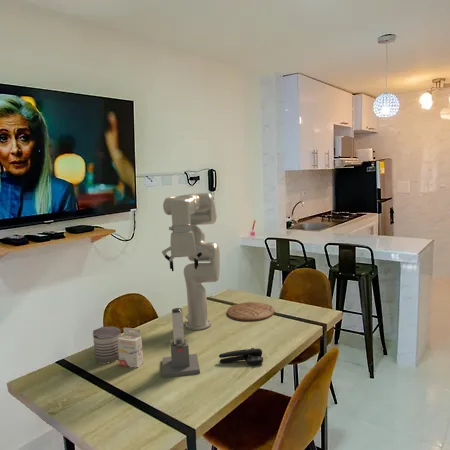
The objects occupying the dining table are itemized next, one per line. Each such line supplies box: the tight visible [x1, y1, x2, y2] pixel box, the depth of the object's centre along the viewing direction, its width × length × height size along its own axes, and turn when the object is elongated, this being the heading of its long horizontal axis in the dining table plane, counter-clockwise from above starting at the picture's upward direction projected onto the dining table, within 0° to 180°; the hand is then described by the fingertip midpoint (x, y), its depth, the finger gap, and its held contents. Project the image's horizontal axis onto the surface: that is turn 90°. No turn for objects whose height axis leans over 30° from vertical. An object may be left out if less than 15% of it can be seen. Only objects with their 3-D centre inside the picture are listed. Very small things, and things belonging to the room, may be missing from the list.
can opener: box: [218, 347, 264, 366], centre depth 167 cm, size 18×7×6 cm, turn 86°
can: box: [92, 326, 122, 364], centre depth 176 cm, size 11×11×12 cm
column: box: [171, 307, 185, 346], centre depth 163 cm, size 4×4×17 cm
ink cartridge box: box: [118, 327, 144, 368], centre depth 168 cm, size 9×5×15 cm, turn 71°
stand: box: [162, 338, 201, 378], centre depth 164 cm, size 14×14×11 cm
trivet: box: [226, 301, 275, 322], centre depth 222 cm, size 25×25×2 cm
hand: (184, 269), depth 173 cm, fingers open, 9 cm apart
